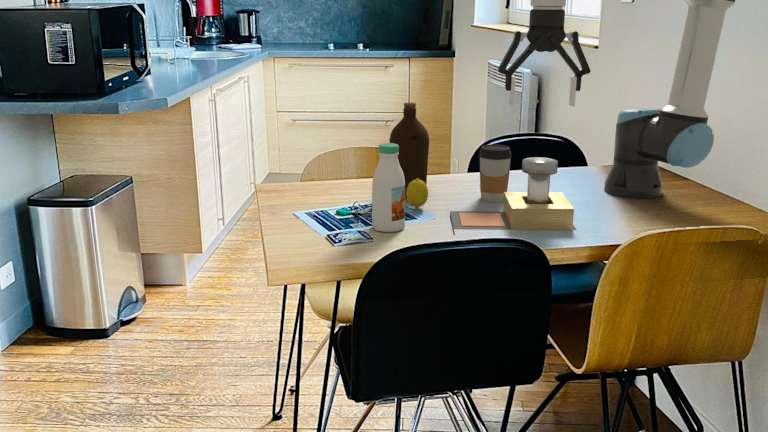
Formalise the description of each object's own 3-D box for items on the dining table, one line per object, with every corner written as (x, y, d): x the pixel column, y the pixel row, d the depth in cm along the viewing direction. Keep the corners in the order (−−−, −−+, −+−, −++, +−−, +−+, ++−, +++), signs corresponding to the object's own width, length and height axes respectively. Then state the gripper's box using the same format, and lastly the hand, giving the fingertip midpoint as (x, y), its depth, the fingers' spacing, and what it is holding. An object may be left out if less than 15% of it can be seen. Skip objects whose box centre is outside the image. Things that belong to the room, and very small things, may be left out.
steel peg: (550, 215, 182) (554, 157, 178) (556, 225, 175) (561, 165, 170) (517, 215, 183) (520, 157, 178) (521, 225, 175) (525, 164, 171)
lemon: (405, 205, 196) (405, 175, 193) (426, 205, 196) (426, 175, 194) (407, 212, 190) (407, 181, 188) (429, 211, 191) (429, 180, 188)
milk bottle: (379, 234, 173) (379, 149, 167) (367, 225, 180) (366, 142, 174) (410, 230, 176) (411, 146, 170) (396, 221, 183) (397, 140, 177)
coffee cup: (508, 209, 193) (511, 151, 188) (475, 207, 194) (477, 150, 190) (509, 200, 201) (512, 144, 196) (478, 198, 202) (480, 143, 198)
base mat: (563, 217, 186) (564, 211, 185) (576, 236, 172) (576, 229, 172) (449, 216, 186) (450, 210, 186) (453, 235, 173) (453, 228, 172)
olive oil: (436, 195, 205) (438, 103, 198) (408, 202, 198) (409, 107, 191) (408, 187, 213) (409, 99, 205) (381, 194, 206) (381, 103, 198)
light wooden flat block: (560, 212, 185) (561, 192, 184) (572, 229, 172) (574, 208, 170) (502, 211, 186) (504, 191, 184) (510, 229, 172) (511, 208, 171)
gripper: (601, 7, 168) (593, 103, 174) (488, 7, 169) (484, 102, 175) (609, 8, 161) (601, 108, 167) (492, 8, 162) (487, 107, 168)
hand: (541, 105), depth 171 cm, fingers open, 13 cm apart
